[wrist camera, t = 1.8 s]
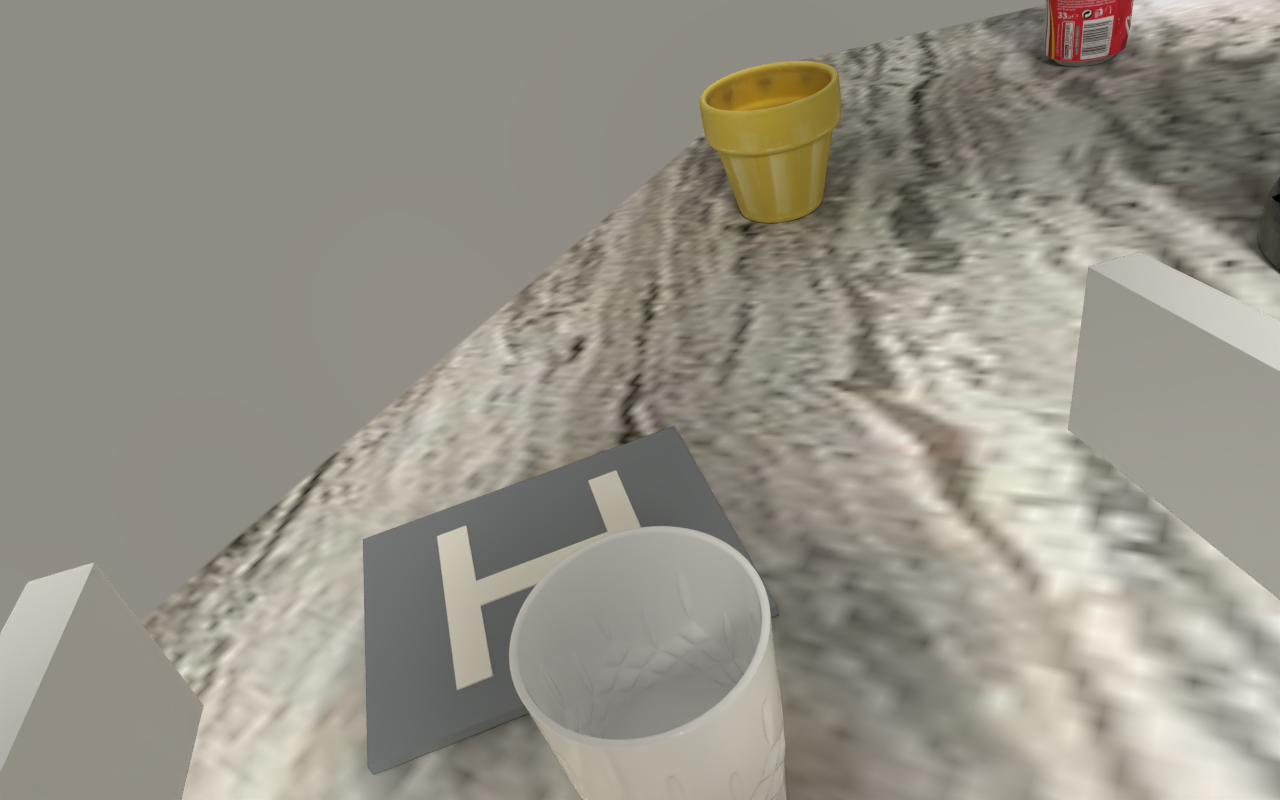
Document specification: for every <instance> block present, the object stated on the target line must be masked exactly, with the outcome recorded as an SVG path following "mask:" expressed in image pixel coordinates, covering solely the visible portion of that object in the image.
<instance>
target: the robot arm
mask: <svg viewBox="0 0 1280 800" xmlns="http://www.w3.org/2000/svg"><path fill="white" fill-rule="evenodd" d="M1258 242H1259V246H1260V248H1261V250H1262V252H1263V254H1264V255H1265V256H1266V257H1267V259H1268V260H1269V261H1270V262H1271V263H1272V264H1273V265H1275V266H1276V267H1277V268H1278V269H1280V178H1279V179H1278V181H1277V182H1276V183H1275V185H1274V186H1273V188H1272V190H1271V191H1270V193H1269V195H1268V197H1267V200H1266V202H1265V206H1264V210H1263V214H1262V218H1261V223H1260V227H1259V231H1258ZM1068 430H1069V431H1071V432H1072V433H1073V434H1074V435H1076V436H1077V437H1078V438H1079V439H1081V440H1082V441H1083V442H1084V443H1086V444H1087V445H1088V446H1089V447H1090V448H1092V449H1093V450H1094V451H1095V452H1097V453H1098V454H1099V455H1100V456H1102V457H1103V458H1104V459H1105V460H1107V461H1108V462H1109V463H1110V464H1112V465H1113V466H1114V467H1115V468H1117V469H1118V470H1119V471H1120V472H1122V473H1123V474H1124V475H1125V476H1127V477H1128V478H1129V479H1130V480H1132V481H1133V482H1134V483H1135V484H1136V485H1138V486H1139V487H1140V488H1141V489H1143V490H1144V491H1145V492H1146V493H1148V494H1149V495H1150V496H1151V497H1153V498H1154V499H1155V500H1156V501H1158V502H1159V503H1160V504H1161V505H1163V506H1164V507H1165V508H1166V509H1168V510H1169V511H1170V512H1171V513H1173V514H1174V515H1175V516H1176V517H1178V518H1179V519H1180V520H1181V521H1182V522H1184V523H1185V524H1186V525H1187V526H1189V527H1190V528H1191V529H1192V530H1194V531H1195V532H1196V533H1197V534H1199V535H1200V536H1201V537H1202V538H1204V539H1205V540H1206V541H1207V542H1209V543H1210V544H1211V545H1212V546H1214V547H1215V548H1216V549H1217V550H1219V551H1220V552H1221V553H1222V554H1224V555H1225V556H1226V557H1227V558H1228V559H1230V560H1231V561H1232V562H1233V563H1235V564H1236V565H1237V566H1238V567H1240V568H1241V569H1242V570H1243V571H1245V572H1246V573H1247V574H1248V575H1250V576H1251V577H1252V578H1253V579H1255V580H1256V581H1257V582H1258V583H1260V584H1261V585H1262V586H1263V587H1265V588H1266V589H1267V590H1268V591H1270V592H1271V593H1272V594H1273V595H1274V596H1276V597H1277V598H1278V599H1279V600H1280V320H1278V319H1275V318H1273V317H1271V316H1269V315H1267V314H1265V313H1263V312H1261V311H1259V310H1257V309H1255V308H1253V307H1251V306H1249V305H1247V304H1245V303H1243V302H1241V301H1239V300H1237V299H1235V298H1232V297H1230V296H1228V295H1226V294H1224V293H1222V292H1220V291H1218V290H1216V289H1214V288H1212V287H1210V286H1208V285H1206V284H1204V283H1202V282H1200V281H1198V280H1196V279H1194V278H1192V277H1190V276H1187V275H1185V274H1183V273H1181V272H1179V271H1177V270H1175V269H1173V268H1171V267H1169V266H1167V265H1165V264H1163V263H1161V262H1159V261H1157V260H1155V259H1153V258H1151V257H1149V256H1147V255H1144V254H1142V253H1140V252H1137V253H1133V254H1130V255H1127V256H1123V257H1120V258H1117V259H1113V260H1110V261H1106V262H1103V263H1100V264H1096V265H1093V266H1090V267H1088V274H1087V282H1086V290H1085V298H1084V306H1083V314H1082V322H1081V330H1080V338H1079V346H1078V354H1077V362H1076V370H1075V378H1074V386H1073V394H1072V402H1071V410H1070V417H1069V425H1068ZM202 710H203V704H202V703H201V701H200V700H199V699H198V697H197V696H196V695H195V693H194V692H193V691H192V690H191V688H190V687H189V686H188V684H187V683H186V682H185V680H184V679H183V678H182V676H181V675H180V674H179V672H178V671H177V670H176V669H175V667H174V666H173V665H172V663H171V662H170V661H169V659H168V658H167V657H166V655H165V654H164V653H163V652H162V650H161V649H160V648H159V646H158V645H157V644H156V642H155V641H154V640H153V638H152V637H151V636H150V634H149V633H148V632H147V631H146V629H145V628H144V627H143V625H142V624H141V623H140V621H139V620H138V619H137V617H136V616H135V615H134V614H133V612H132V611H131V610H130V608H129V607H128V606H127V604H126V603H125V602H124V601H123V599H122V598H121V596H120V595H119V594H118V593H117V591H116V590H115V589H114V587H113V586H112V585H111V583H110V582H109V581H108V579H107V578H106V577H105V576H104V574H103V573H102V572H101V571H100V569H99V568H98V566H97V565H96V564H95V563H91V564H87V565H84V566H80V567H77V568H74V569H70V570H67V571H64V572H60V573H57V574H53V575H50V576H47V577H43V578H40V579H37V580H33V581H30V582H28V583H27V585H26V586H25V589H24V590H23V592H22V594H21V596H20V598H19V600H18V602H17V603H16V605H15V607H14V609H13V611H12V613H11V615H10V617H9V618H8V620H7V622H6V624H5V626H4V628H3V630H2V632H1V634H0V800H181V799H182V794H183V790H184V786H185V782H186V777H187V773H188V769H189V765H190V760H191V756H192V752H193V748H194V743H195V739H196V735H197V731H198V726H199V722H200V718H201V714H202Z"/></svg>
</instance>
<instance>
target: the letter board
mask: <svg viewBox="0 0 1280 800" xmlns="http://www.w3.org/2000/svg"><path fill="white" fill-rule="evenodd" d="M650 526H672V527H681V528H688V529H692V530H696V531H700V532H703V533H706V534H709V535H711V536H714V537H716V538H718V539H720V540H722V541H724V542H726V543H727V544H729V545H730V546H732V547H733V548H735V549H736V550H737V551H738V552H740V553H741V554H742V555H743V556H744V557H745V558H746V559H747V560H748V561H749V562H750V564H751V565H752V566H753V567H754V569H755V570H756V568H755V566H754V565H753V563H752V561H751V559H750V558H749V556H748V554H747V552H746V551H745V549H744V547H743V545H742V544H741V542H740V540H739V538H738V537H737V535H736V533H735V531H734V530H733V528H732V526H731V524H730V523H729V521H728V519H727V517H726V516H725V514H724V512H723V510H722V509H721V507H720V505H719V503H718V502H717V500H716V498H715V496H714V495H713V493H712V491H711V489H710V488H709V486H708V484H707V482H706V481H705V479H704V477H703V475H702V474H701V472H700V470H699V468H698V467H697V465H696V463H695V461H694V460H693V458H692V456H691V454H690V453H689V451H688V449H687V447H686V446H685V444H684V442H683V440H682V439H681V437H680V435H679V433H678V432H677V430H676V428H675V426H673V427H670V428H667V429H665V430H662V431H659V432H656V433H654V434H651V435H648V436H645V437H643V438H640V439H637V440H634V441H632V442H629V443H626V444H623V445H621V446H618V447H615V448H612V449H610V450H607V451H604V452H601V453H599V454H596V455H593V456H590V457H588V458H585V459H582V460H579V461H577V462H574V463H571V464H569V465H566V466H563V467H560V468H558V469H555V470H552V471H549V472H547V473H544V474H541V475H538V476H536V477H533V478H530V479H527V480H525V481H522V482H519V483H516V484H514V485H511V486H508V487H505V488H503V489H500V490H497V491H494V492H492V493H489V494H486V495H483V496H481V497H478V498H475V499H472V500H470V501H467V502H464V503H462V504H459V505H456V506H453V507H451V508H448V509H445V510H442V511H440V512H437V513H434V514H431V515H429V516H426V517H423V518H420V519H418V520H415V521H412V522H409V523H407V524H404V525H401V526H398V527H396V528H393V529H390V530H387V531H385V532H382V533H379V534H376V535H374V536H371V537H368V538H366V539H363V561H364V610H365V659H366V708H367V757H368V768H369V769H370V771H371V772H372V773H373V775H374V774H377V773H379V772H382V771H384V770H387V769H389V768H392V767H394V766H397V765H400V764H402V763H405V762H407V761H410V760H412V759H415V758H417V757H420V756H422V755H425V754H427V753H430V752H432V751H435V750H437V749H440V748H442V747H445V746H447V745H450V744H453V743H455V742H458V741H460V740H463V739H465V738H468V737H470V736H473V735H475V734H478V733H480V732H483V731H485V730H488V729H490V728H493V727H495V726H498V725H500V724H503V723H506V722H508V721H511V720H513V719H516V718H518V717H521V716H523V715H526V714H528V713H529V712H528V711H527V709H526V707H525V706H524V704H523V703H522V701H521V699H520V697H519V695H518V693H517V691H516V689H515V686H514V684H513V680H512V677H511V672H510V665H509V646H510V639H511V634H512V630H513V627H514V624H515V621H516V618H517V616H518V613H519V611H520V609H521V607H522V605H523V603H524V602H525V600H526V598H527V597H528V595H529V594H530V592H531V591H532V590H533V588H534V587H535V586H536V585H537V583H538V582H539V581H540V580H541V579H542V578H543V577H544V576H545V575H546V574H547V573H548V572H549V571H550V570H551V569H552V568H553V567H554V566H555V565H556V564H558V563H559V562H560V561H561V560H563V559H564V558H565V557H567V556H568V555H570V554H571V553H573V552H574V551H576V550H578V549H579V548H581V547H583V546H585V545H587V544H589V543H591V542H593V541H595V540H597V539H600V538H602V537H605V536H608V535H610V534H614V533H617V532H620V531H624V530H629V529H634V528H640V527H650ZM756 572H757V570H756ZM757 573H758V572H757ZM758 575H759V573H758ZM759 577H760V575H759ZM760 578H761V577H760ZM761 580H762V579H761ZM762 582H763V580H762ZM763 585H764V587H765V590H766V593H767V596H768V600H769V605H770V613H771V617H773V616H776V615H778V609H777V605H776V603H775V601H774V600H773V598H772V596H771V594H770V593H769V591H768V589H767V587H766V586H765V584H764V582H763Z"/></svg>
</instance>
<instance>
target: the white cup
mask: <svg viewBox="0 0 1280 800" xmlns="http://www.w3.org/2000/svg"><path fill="white" fill-rule="evenodd" d="M509 665H510V672H511V677H512V680H513V684H514V686H515V689H516V691H517V693H518V695H519V697H520V699H521V701H522V703H523V704H524V706H525V707H526V709H527V711H528V712H529V714H530V715H531V717H532V719H533V720H534V722H535V724H536V725H537V727H538V728H539V730H540V732H541V733H542V735H543V737H544V738H545V740H546V742H547V743H548V745H549V746H550V748H551V750H552V751H553V753H554V755H555V756H556V758H557V760H558V761H559V763H560V765H561V766H562V768H563V770H564V771H565V773H566V775H567V776H568V778H569V780H570V781H571V783H572V784H573V786H574V787H575V789H576V790H577V792H578V793H579V794H580V796H581V797H582V799H583V800H787V793H786V777H785V764H784V756H785V750H786V747H785V737H784V720H783V711H782V703H781V695H780V687H779V679H778V671H777V663H776V655H775V647H774V639H773V631H772V622H771V613H770V605H769V600H768V596H767V593H766V590H765V587H764V585H763V582H762V580H761V578H760V577H759V575H758V573H757V572H756V570H755V569H754V567H753V566H752V565H751V564H750V562H749V561H748V560H747V559H746V558H745V557H744V556H743V555H742V554H741V553H740V552H738V551H737V550H736V549H735V548H733V547H732V546H730V545H729V544H727V543H726V542H724V541H722V540H720V539H718V538H716V537H714V536H711V535H709V534H706V533H703V532H700V531H696V530H692V529H688V528H681V527H672V526H650V527H640V528H634V529H629V530H624V531H620V532H617V533H614V534H610V535H608V536H605V537H602V538H600V539H597V540H595V541H593V542H591V543H589V544H587V545H585V546H583V547H581V548H579V549H578V550H576V551H574V552H573V553H571V554H570V555H568V556H567V557H565V558H564V559H563V560H561V561H560V562H559V563H558V564H556V565H555V566H554V567H553V568H552V569H551V570H550V571H549V572H548V573H547V574H546V575H545V576H544V577H543V578H542V579H541V580H540V581H539V582H538V583H537V585H536V586H535V587H534V588H533V590H532V591H531V592H530V594H529V595H528V597H527V598H526V600H525V602H524V603H523V605H522V607H521V609H520V611H519V613H518V616H517V618H516V621H515V624H514V627H513V630H512V634H511V639H510V646H509Z"/></svg>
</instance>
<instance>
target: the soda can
mask: <svg viewBox="0 0 1280 800" xmlns="http://www.w3.org/2000/svg"><path fill="white" fill-rule="evenodd" d="M1133 1H1134V0H1046V14H1045V33H1044V39H1045V54H1046V56H1047V57H1049V58H1051V59H1053V60H1055V62H1056V63H1058V64H1060V65H1064V66H1088V65H1095V64H1099V63H1102V62H1105V61H1107V60H1109V59H1111V58H1112V57H1113V56H1114V55H1115V54H1117V53H1119V52H1120V51H1122V50H1123V49H1124V48H1125V46H1126V43H1127V38H1128V34H1129V30H1130V24H1131V16H1132V9H1133Z"/></svg>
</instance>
